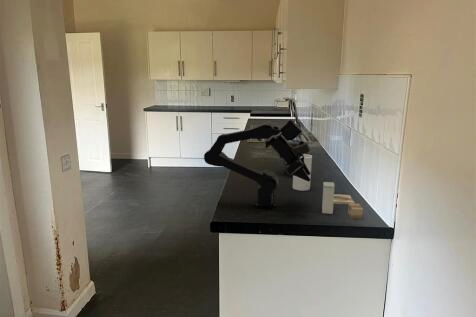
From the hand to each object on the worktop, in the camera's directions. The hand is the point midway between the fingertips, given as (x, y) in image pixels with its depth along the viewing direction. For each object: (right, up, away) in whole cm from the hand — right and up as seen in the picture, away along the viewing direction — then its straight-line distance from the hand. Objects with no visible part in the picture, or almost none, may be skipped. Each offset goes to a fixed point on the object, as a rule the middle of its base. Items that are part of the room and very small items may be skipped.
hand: (309, 177), depth 141 cm
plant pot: (+2, -2, +53) cm, 53 cm away
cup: (+2, -7, +30) cm, 31 cm away
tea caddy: (+7, -13, +1) cm, 15 cm away
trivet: (+16, -11, +14) cm, 24 cm away
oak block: (+17, -15, -4) cm, 23 cm away
